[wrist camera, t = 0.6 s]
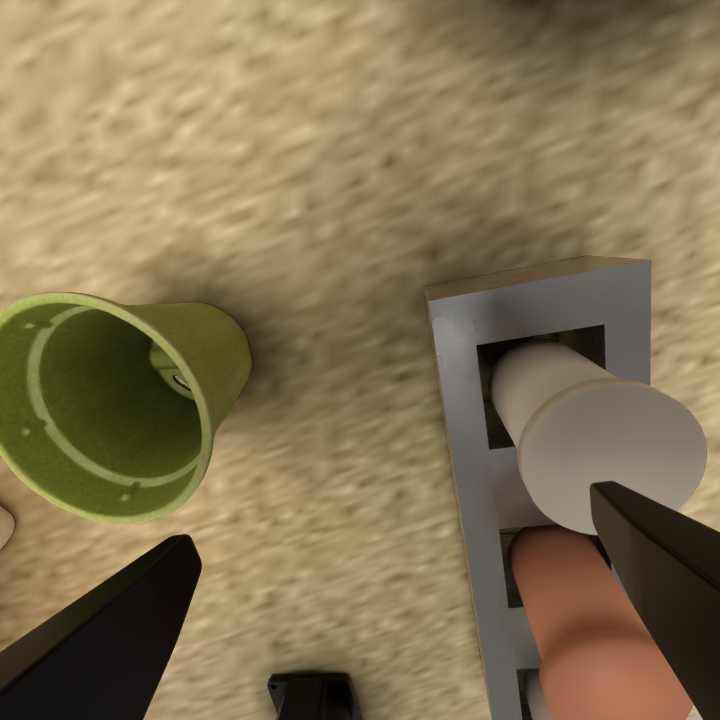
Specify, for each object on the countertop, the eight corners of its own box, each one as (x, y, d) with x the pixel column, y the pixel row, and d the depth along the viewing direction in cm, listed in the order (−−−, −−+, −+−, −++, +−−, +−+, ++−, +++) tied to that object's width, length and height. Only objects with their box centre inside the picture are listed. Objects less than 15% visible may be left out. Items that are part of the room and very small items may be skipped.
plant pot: (313, 340, 21) (256, 401, 13) (232, 454, 24) (143, 563, 16) (172, 236, 21) (15, 233, 12) (105, 367, 23) (-58, 436, 15)
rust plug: (601, 586, 19) (691, 744, 13) (506, 592, 20) (550, 744, 14) (599, 509, 18) (697, 645, 12) (497, 518, 19) (541, 650, 13)
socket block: (603, 662, 26) (648, 756, 21) (481, 665, 27) (498, 755, 22) (587, 255, 19) (650, 260, 14) (422, 286, 20) (428, 301, 15)
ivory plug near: (595, 425, 17) (703, 528, 11) (487, 438, 17) (531, 541, 11) (592, 322, 15) (711, 374, 9) (475, 342, 16) (517, 400, 10)
